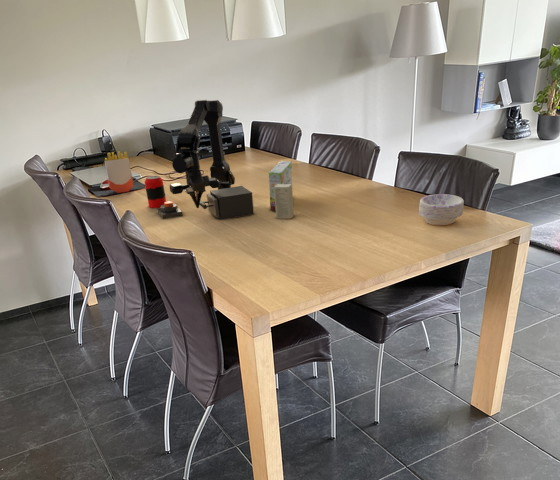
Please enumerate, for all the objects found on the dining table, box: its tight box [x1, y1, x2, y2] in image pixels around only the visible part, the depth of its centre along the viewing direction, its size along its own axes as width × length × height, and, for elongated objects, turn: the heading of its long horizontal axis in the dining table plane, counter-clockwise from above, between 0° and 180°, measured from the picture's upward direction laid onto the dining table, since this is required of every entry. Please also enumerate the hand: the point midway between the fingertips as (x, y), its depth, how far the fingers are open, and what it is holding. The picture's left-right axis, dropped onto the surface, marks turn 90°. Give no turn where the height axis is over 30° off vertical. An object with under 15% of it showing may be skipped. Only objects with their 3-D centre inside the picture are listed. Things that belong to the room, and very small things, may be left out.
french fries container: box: [104, 151, 134, 194], centre depth 268 cm, size 5×11×18 cm, turn 114°
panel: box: [157, 203, 183, 220], centre depth 234 cm, size 10×8×4 cm
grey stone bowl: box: [418, 193, 465, 226], centre depth 204 cm, size 15×15×8 cm
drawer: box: [199, 193, 220, 219], centre depth 227 cm, size 17×11×7 cm
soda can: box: [144, 175, 167, 209], centre depth 244 cm, size 8×8×12 cm
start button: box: [164, 200, 174, 207], centre depth 233 cm, size 4×4×2 cm
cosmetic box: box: [274, 183, 295, 220], centre depth 219 cm, size 6×4×12 cm
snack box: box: [268, 160, 293, 212], centre depth 234 cm, size 21×6×15 cm, turn 168°
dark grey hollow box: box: [209, 185, 255, 221], centre depth 229 cm, size 14×13×9 cm
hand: (197, 207), depth 226 cm, fingers closed
